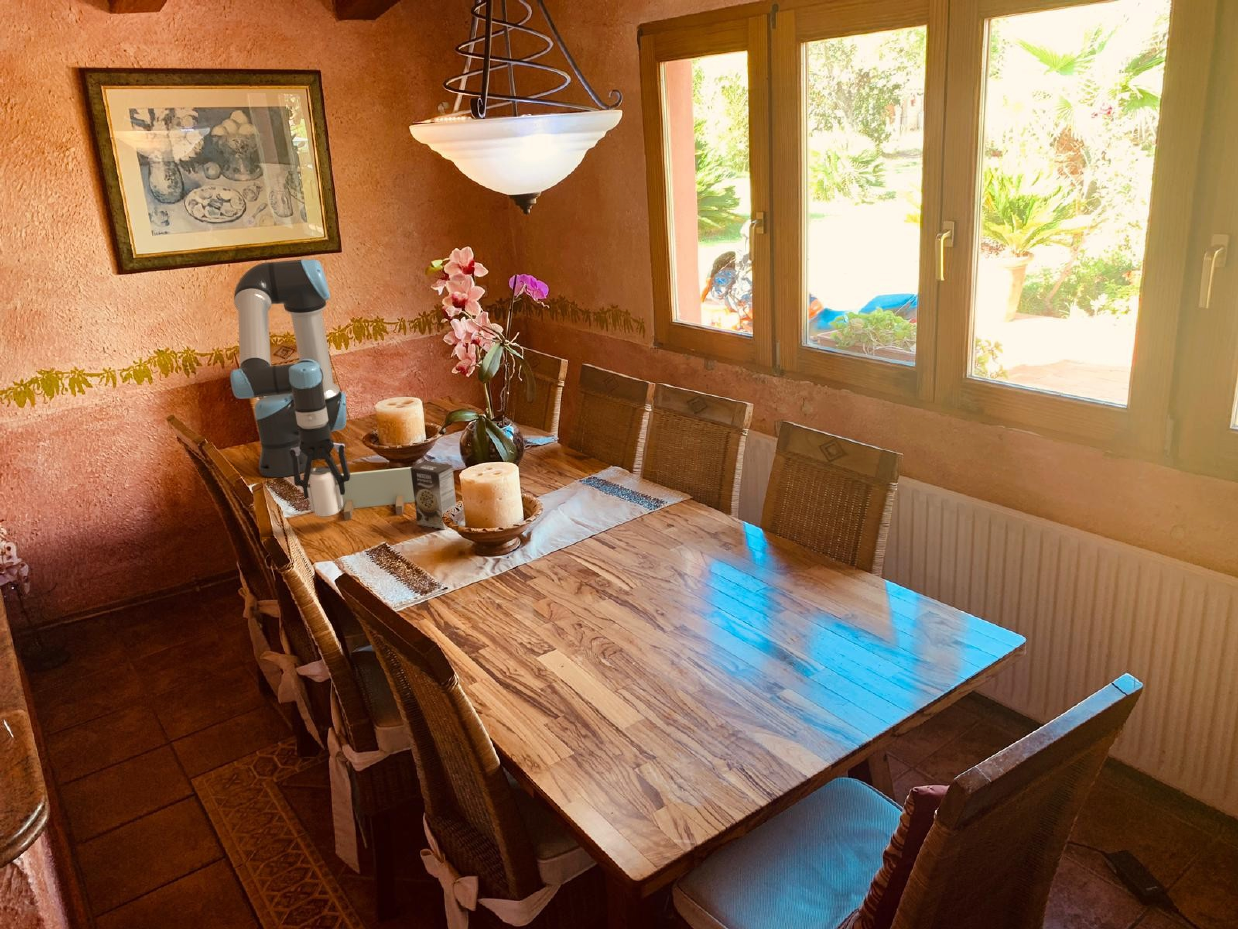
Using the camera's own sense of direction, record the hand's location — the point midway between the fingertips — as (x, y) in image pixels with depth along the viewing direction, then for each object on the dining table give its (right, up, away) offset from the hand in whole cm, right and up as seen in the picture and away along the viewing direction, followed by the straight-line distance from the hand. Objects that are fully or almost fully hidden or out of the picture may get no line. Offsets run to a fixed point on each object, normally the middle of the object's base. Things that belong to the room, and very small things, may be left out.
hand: (327, 507), depth 241 cm
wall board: (+10, -1, +10) cm, 14 cm away
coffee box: (+29, -4, +1) cm, 29 cm away
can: (0, -2, +1) cm, 2 cm away
